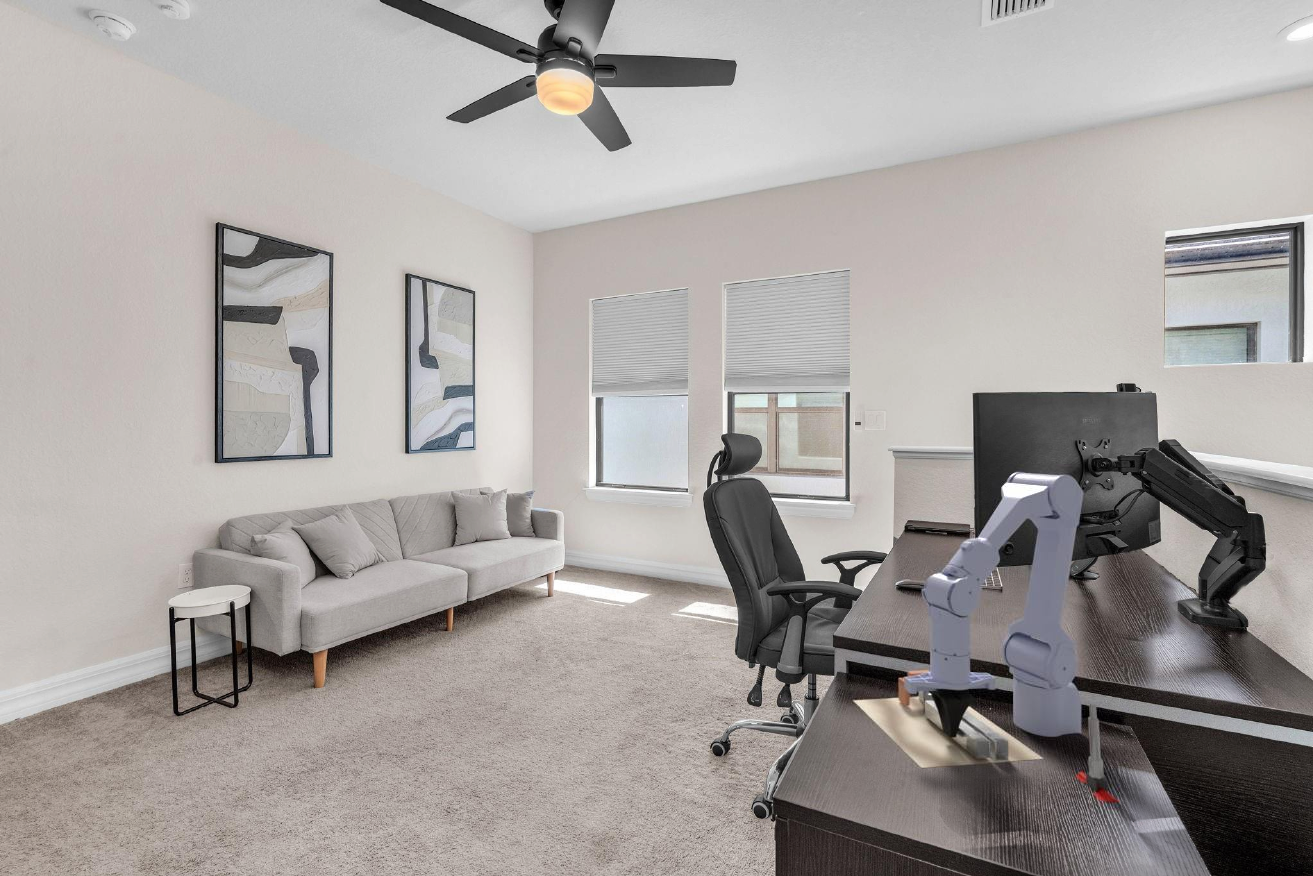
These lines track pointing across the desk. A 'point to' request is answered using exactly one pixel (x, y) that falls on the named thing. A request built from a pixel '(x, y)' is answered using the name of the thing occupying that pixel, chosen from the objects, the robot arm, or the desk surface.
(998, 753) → the tong base
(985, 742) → the bar
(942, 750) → the board
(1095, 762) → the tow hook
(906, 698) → the collar
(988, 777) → the desk surface
